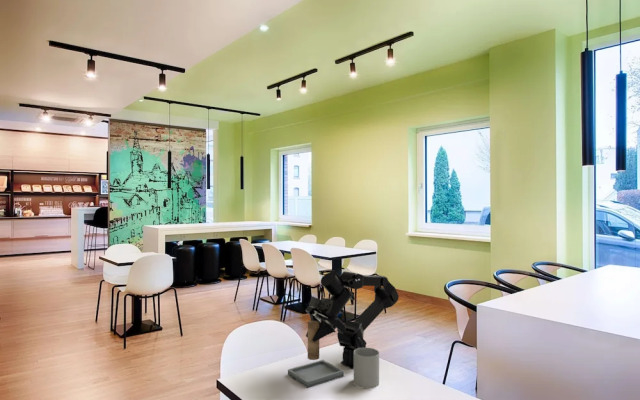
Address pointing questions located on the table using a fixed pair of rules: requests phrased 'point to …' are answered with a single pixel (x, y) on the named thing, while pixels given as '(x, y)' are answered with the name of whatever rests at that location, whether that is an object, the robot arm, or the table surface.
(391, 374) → the table surface
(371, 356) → the cup
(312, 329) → the dowel
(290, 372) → the tray
